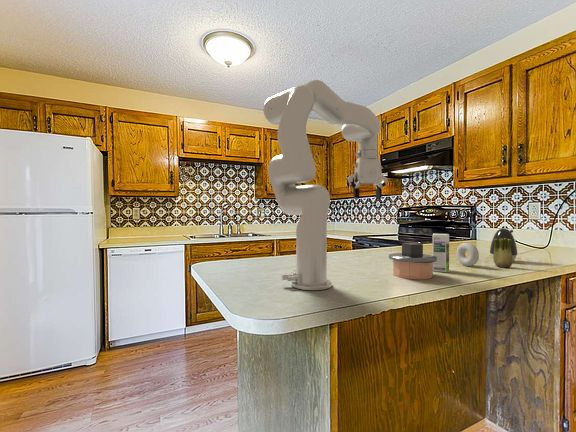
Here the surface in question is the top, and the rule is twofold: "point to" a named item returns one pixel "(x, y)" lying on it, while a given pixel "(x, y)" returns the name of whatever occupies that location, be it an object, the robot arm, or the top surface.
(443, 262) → the syrup box
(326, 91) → the robot arm
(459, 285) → the top surface
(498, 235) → the dark glossy dome
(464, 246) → the donut
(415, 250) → the lid
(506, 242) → the fennel bulb
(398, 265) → the bowl
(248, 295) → the top surface
